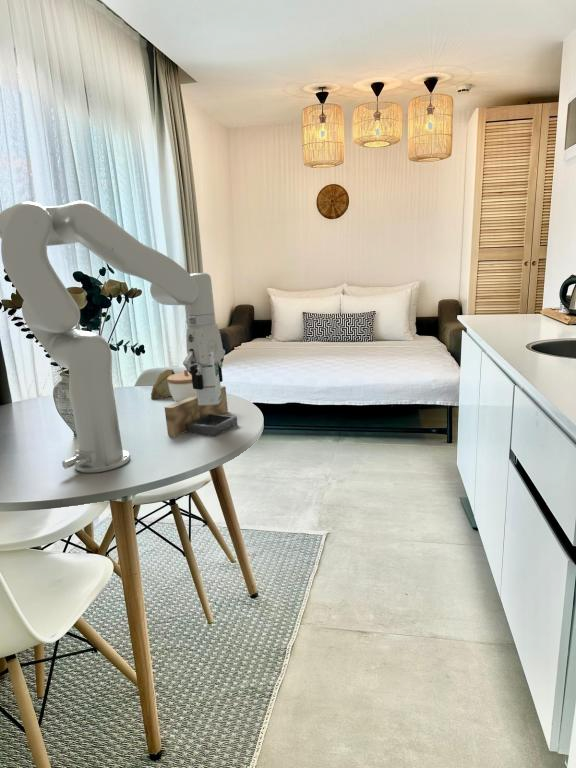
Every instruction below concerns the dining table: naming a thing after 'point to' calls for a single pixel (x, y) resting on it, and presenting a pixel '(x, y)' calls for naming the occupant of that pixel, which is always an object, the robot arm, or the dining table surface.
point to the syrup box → (209, 383)
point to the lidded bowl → (181, 386)
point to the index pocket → (202, 428)
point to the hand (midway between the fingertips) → (208, 384)
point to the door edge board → (191, 412)
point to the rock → (162, 385)
